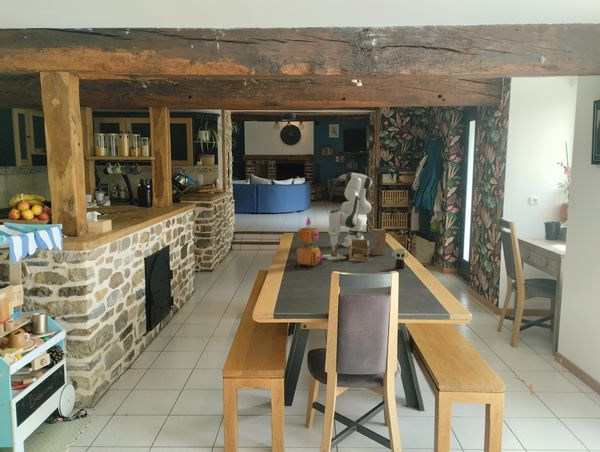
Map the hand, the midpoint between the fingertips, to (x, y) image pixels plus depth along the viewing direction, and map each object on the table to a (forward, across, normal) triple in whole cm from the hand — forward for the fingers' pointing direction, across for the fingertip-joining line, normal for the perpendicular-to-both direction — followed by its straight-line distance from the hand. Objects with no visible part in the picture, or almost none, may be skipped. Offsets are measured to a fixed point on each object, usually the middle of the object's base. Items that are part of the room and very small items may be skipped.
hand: (334, 249), depth 376 cm
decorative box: (+6, +34, -13) cm, 38 cm away
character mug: (+6, +29, +47) cm, 56 cm away
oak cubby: (+6, -3, +19) cm, 20 cm away
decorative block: (+6, -19, +33) cm, 39 cm away
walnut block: (+5, 0, 0) cm, 5 cm away
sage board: (+6, 0, 0) cm, 6 cm away
